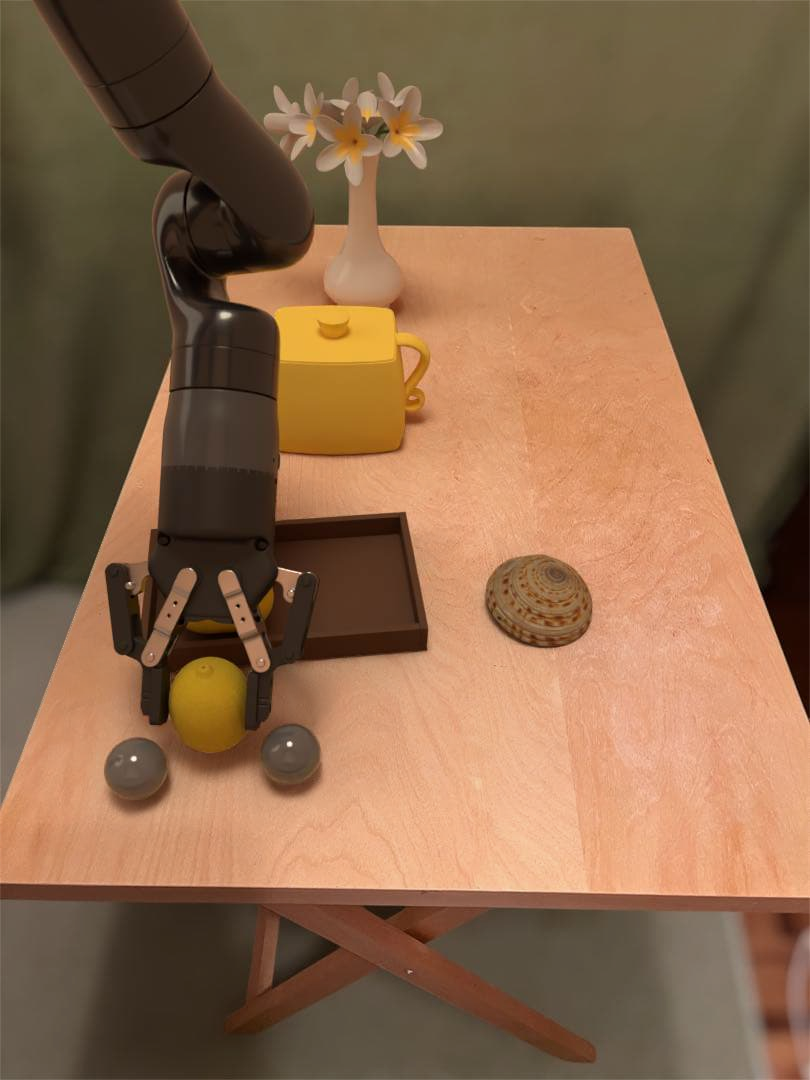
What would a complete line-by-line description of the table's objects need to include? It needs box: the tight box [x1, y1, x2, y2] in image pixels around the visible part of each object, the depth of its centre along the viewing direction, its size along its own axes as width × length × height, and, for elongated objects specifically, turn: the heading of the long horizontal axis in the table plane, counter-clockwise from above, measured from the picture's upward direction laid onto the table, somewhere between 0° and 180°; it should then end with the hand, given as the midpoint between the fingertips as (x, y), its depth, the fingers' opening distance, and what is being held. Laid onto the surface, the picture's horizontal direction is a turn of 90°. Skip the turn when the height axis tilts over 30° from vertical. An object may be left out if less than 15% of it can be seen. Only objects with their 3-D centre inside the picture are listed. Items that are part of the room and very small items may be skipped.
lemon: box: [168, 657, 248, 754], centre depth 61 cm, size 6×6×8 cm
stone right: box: [259, 722, 322, 786], centre depth 60 cm, size 4×4×4 cm
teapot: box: [273, 305, 431, 456], centre depth 87 cm, size 20×12×12 cm, turn 92°
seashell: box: [485, 553, 593, 647], centre depth 73 cm, size 8×6×8 cm
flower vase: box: [263, 71, 444, 309], centre depth 99 cm, size 13×18×25 cm
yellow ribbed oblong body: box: [186, 587, 274, 634], centre depth 69 cm, size 8×5×5 cm
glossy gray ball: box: [103, 736, 169, 801], centre depth 59 cm, size 4×4×4 cm
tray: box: [140, 511, 429, 673], centre depth 72 cm, size 21×13×3 cm, turn 97°
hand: (206, 725), depth 59 cm, fingers closed on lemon, 5 cm apart
